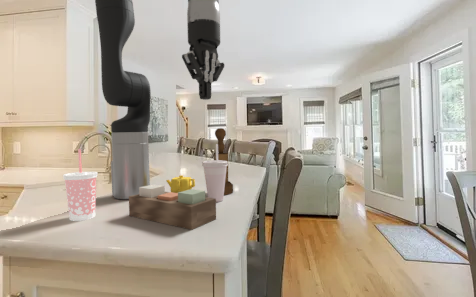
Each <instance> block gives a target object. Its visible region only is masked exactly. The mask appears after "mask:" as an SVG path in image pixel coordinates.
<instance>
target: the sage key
mask: <svg viewBox="0 0 476 297" xmlns="http://www.w3.org/2000/svg"><path fill="white" fill-rule="evenodd" d="M205 197H206V190H200V189H193V188H192V189H190V190H186V191H182V192H178V202H180V203H186V204H196V203H199V202H202V201H205Z"/></svg>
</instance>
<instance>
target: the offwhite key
mask: <svg viewBox="0 0 476 297" xmlns="http://www.w3.org/2000/svg"><path fill="white" fill-rule="evenodd" d="M165 192H166V191H165V185H159V184H150V185H148V186H143V187H139V196H143V197H149V198H152V197H156V196H158V195H162V194H165Z"/></svg>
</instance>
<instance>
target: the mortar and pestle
mask: <svg viewBox="0 0 476 297" xmlns="http://www.w3.org/2000/svg"><path fill="white" fill-rule="evenodd" d="M214 136H215V137H216V140H217V144H218V160H223V161H228V162H229V153H228V152H224V151H225V146H226V144H225V143H224V139H225V137H226V136H227V132H226V130H225V129H224V128H222V127H220V128H217V129H215V131H214ZM213 160H216V152H214V153H213ZM233 193H234V184H233V183H231V181H230V180H229V165H228V166H227V167H226V178H225V187H224V196H226V195H231V194H233Z"/></svg>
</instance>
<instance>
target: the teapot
mask: <svg viewBox="0 0 476 297" xmlns="http://www.w3.org/2000/svg"><path fill="white" fill-rule="evenodd" d="M166 183H167V184H168V186H169V187H170V192H173V193H178V192H182V191H186V190H190V189H193V188H194V187H196V179H194V178H192V177H191V176H184V175H179V176H175V177H173V178H171V180H170V179H166Z"/></svg>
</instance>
